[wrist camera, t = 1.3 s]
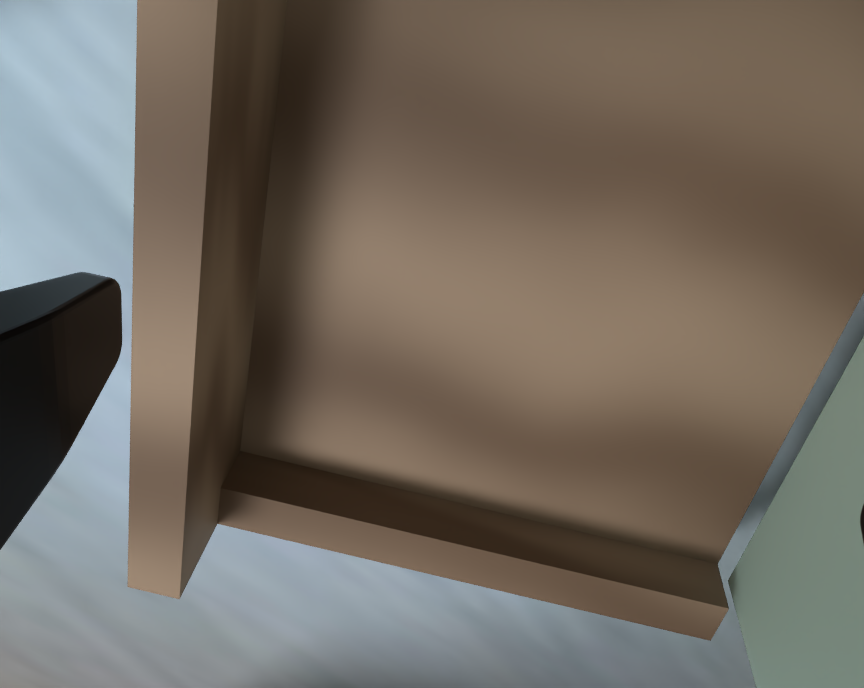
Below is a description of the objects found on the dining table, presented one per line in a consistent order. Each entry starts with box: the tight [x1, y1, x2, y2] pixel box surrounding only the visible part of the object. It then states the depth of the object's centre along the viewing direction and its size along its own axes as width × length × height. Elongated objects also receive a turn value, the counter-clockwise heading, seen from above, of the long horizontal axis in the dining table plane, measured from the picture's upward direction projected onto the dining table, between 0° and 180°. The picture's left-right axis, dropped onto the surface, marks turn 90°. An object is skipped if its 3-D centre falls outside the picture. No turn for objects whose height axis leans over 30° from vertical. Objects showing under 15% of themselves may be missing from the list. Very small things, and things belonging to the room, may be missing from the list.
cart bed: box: [128, 0, 864, 641], centre depth 16 cm, size 20×14×6 cm
